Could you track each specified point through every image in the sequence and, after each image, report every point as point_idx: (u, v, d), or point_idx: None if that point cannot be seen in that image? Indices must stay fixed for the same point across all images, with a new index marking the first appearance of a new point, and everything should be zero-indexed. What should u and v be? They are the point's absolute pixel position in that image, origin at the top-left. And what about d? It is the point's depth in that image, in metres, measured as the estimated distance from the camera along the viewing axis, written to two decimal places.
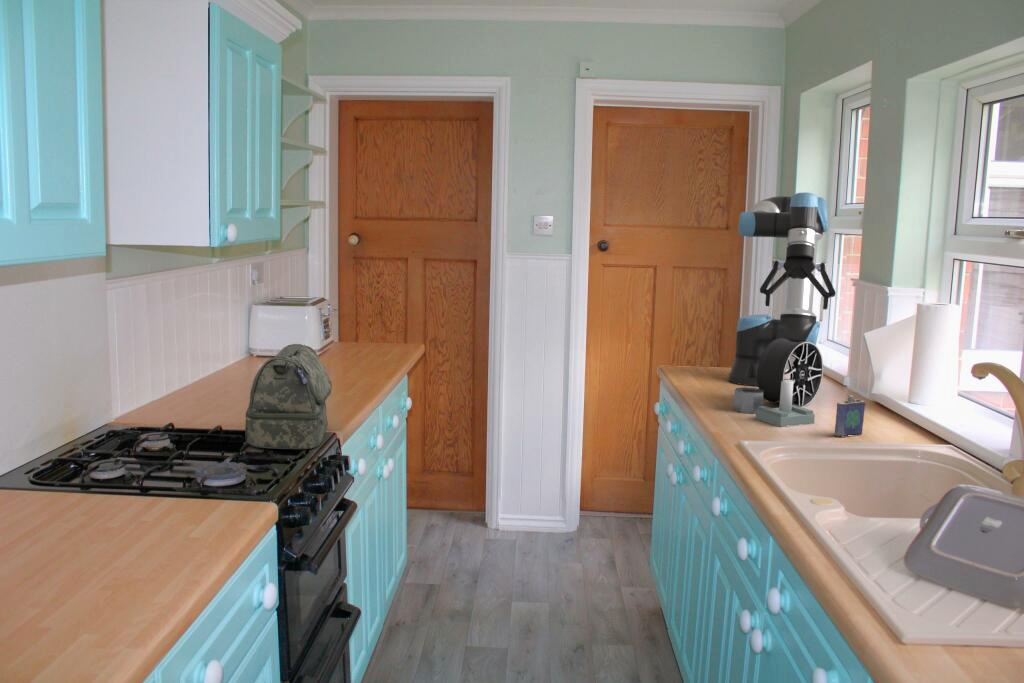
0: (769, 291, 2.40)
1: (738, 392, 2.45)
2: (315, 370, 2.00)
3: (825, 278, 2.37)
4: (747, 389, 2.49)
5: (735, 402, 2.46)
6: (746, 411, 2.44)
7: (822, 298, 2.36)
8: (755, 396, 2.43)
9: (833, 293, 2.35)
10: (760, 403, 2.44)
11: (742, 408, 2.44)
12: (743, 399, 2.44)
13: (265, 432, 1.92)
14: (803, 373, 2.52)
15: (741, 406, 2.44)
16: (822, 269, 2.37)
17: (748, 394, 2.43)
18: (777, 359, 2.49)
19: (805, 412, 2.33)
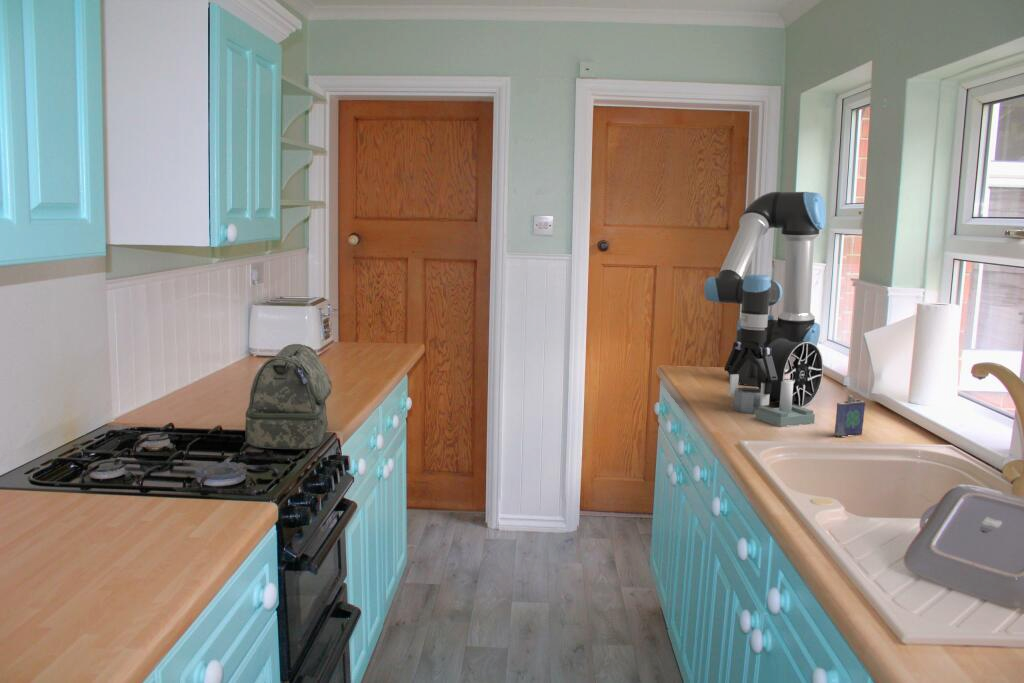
0: (729, 371, 2.52)
1: (738, 392, 2.45)
2: (315, 370, 2.00)
3: (765, 364, 2.38)
4: (747, 389, 2.49)
5: (735, 402, 2.46)
6: (746, 411, 2.44)
7: (762, 384, 2.39)
8: (755, 396, 2.43)
9: (769, 380, 2.37)
10: None
11: (742, 408, 2.44)
12: (743, 399, 2.44)
13: (265, 432, 1.92)
14: (803, 373, 2.52)
15: (741, 406, 2.44)
16: (763, 355, 2.39)
17: (748, 394, 2.43)
18: (777, 359, 2.49)
19: (805, 412, 2.33)
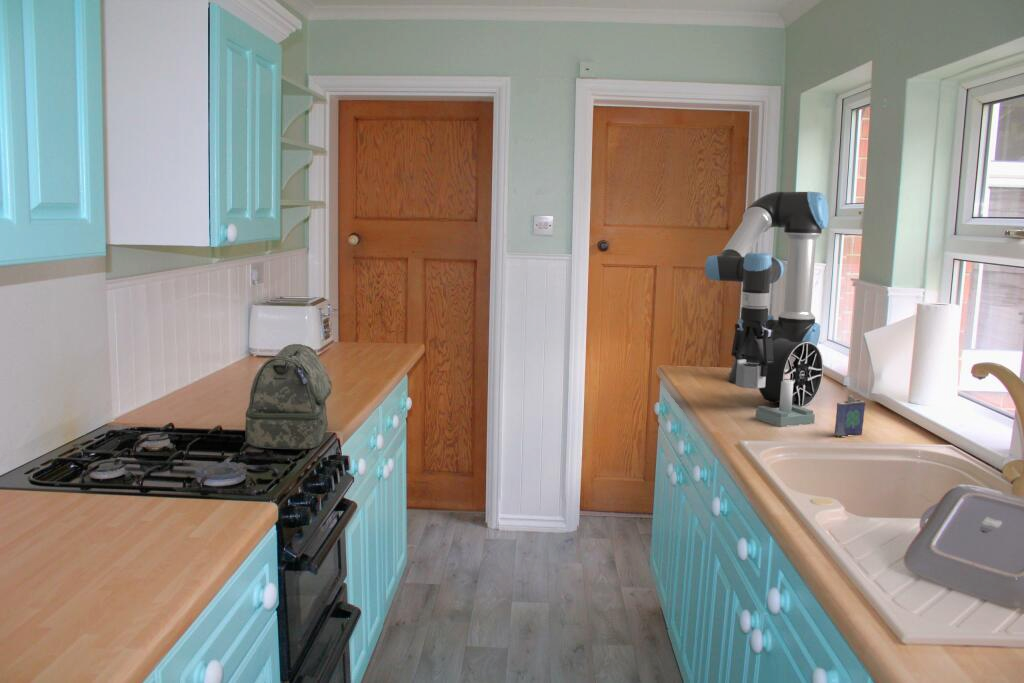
0: (737, 356, 2.50)
1: (740, 367, 2.44)
2: (315, 370, 2.00)
3: (763, 346, 2.39)
4: (749, 364, 2.49)
5: (737, 377, 2.46)
6: (748, 386, 2.43)
7: (758, 367, 2.42)
8: None
9: (765, 363, 2.39)
10: None
11: (744, 383, 2.44)
12: (745, 374, 2.43)
13: (265, 432, 1.92)
14: (803, 373, 2.52)
15: (743, 381, 2.44)
16: (764, 336, 2.39)
17: (750, 369, 2.42)
18: (777, 359, 2.49)
19: (805, 412, 2.33)
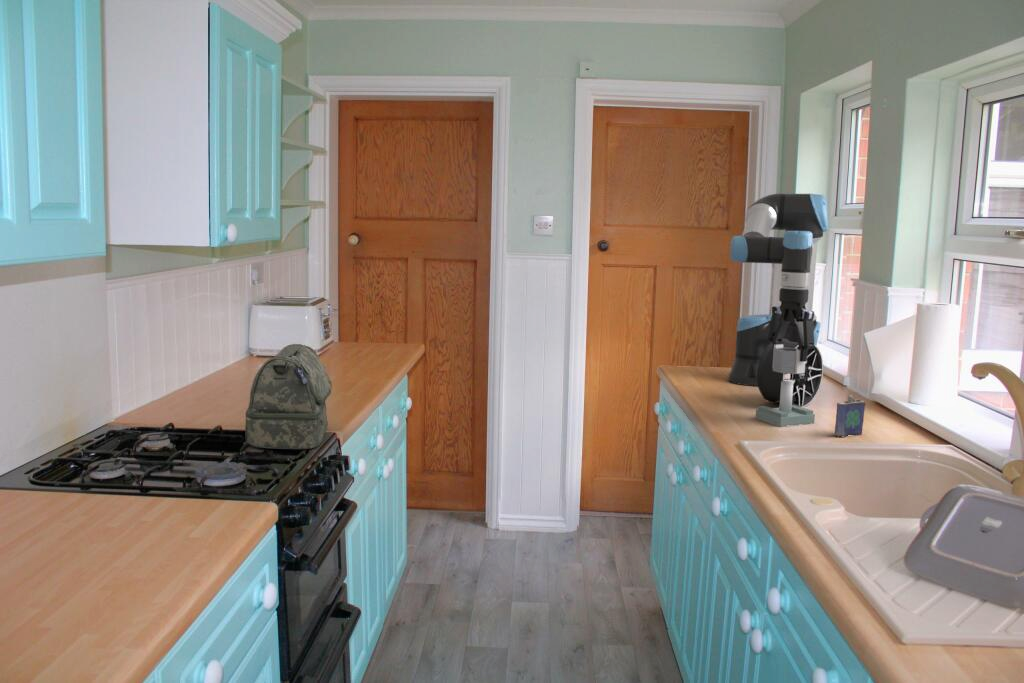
0: (773, 341, 2.36)
1: (778, 351, 2.31)
2: (315, 370, 2.00)
3: (804, 328, 2.26)
4: (787, 349, 2.35)
5: (775, 362, 2.32)
6: (787, 371, 2.30)
7: (797, 351, 2.28)
8: None
9: (805, 347, 2.25)
10: None
11: (782, 368, 2.30)
12: (783, 358, 2.30)
13: (265, 432, 1.92)
14: (803, 373, 2.52)
15: (781, 366, 2.30)
16: (804, 318, 2.26)
17: (789, 353, 2.29)
18: None
19: (805, 412, 2.33)
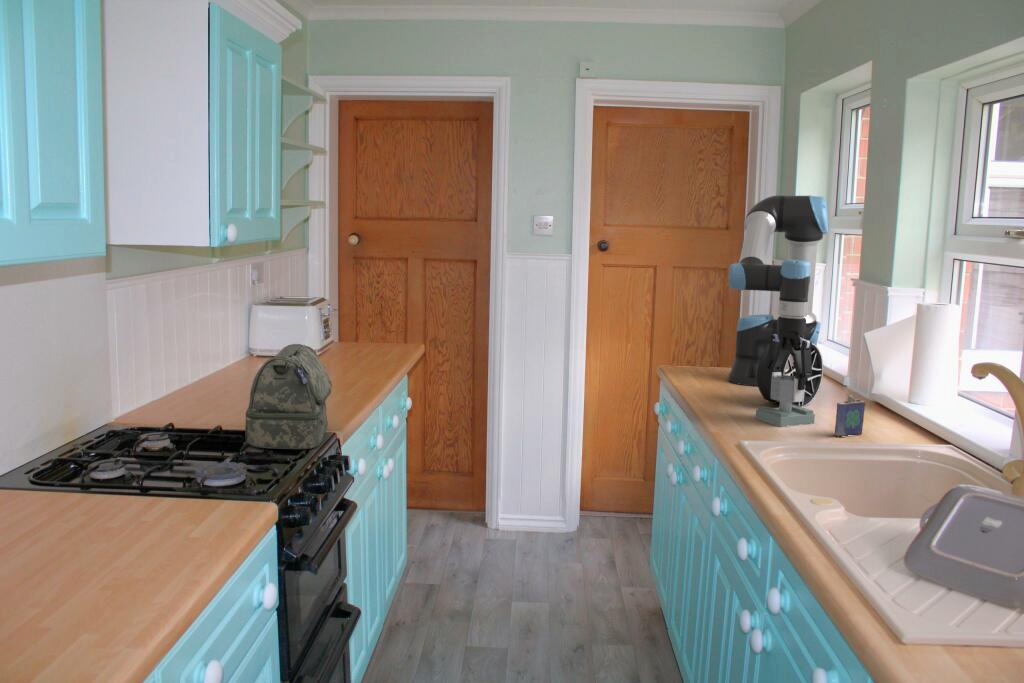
0: (771, 369, 2.37)
1: (776, 379, 2.32)
2: (315, 370, 2.00)
3: (802, 358, 2.27)
4: (785, 377, 2.36)
5: (773, 390, 2.33)
6: (785, 399, 2.31)
7: (795, 380, 2.29)
8: None
9: (803, 376, 2.27)
10: None
11: (780, 396, 2.31)
12: (781, 387, 2.31)
13: (265, 432, 1.92)
14: None
15: (779, 394, 2.31)
16: (802, 347, 2.27)
17: (787, 381, 2.30)
18: None
19: (805, 412, 2.33)
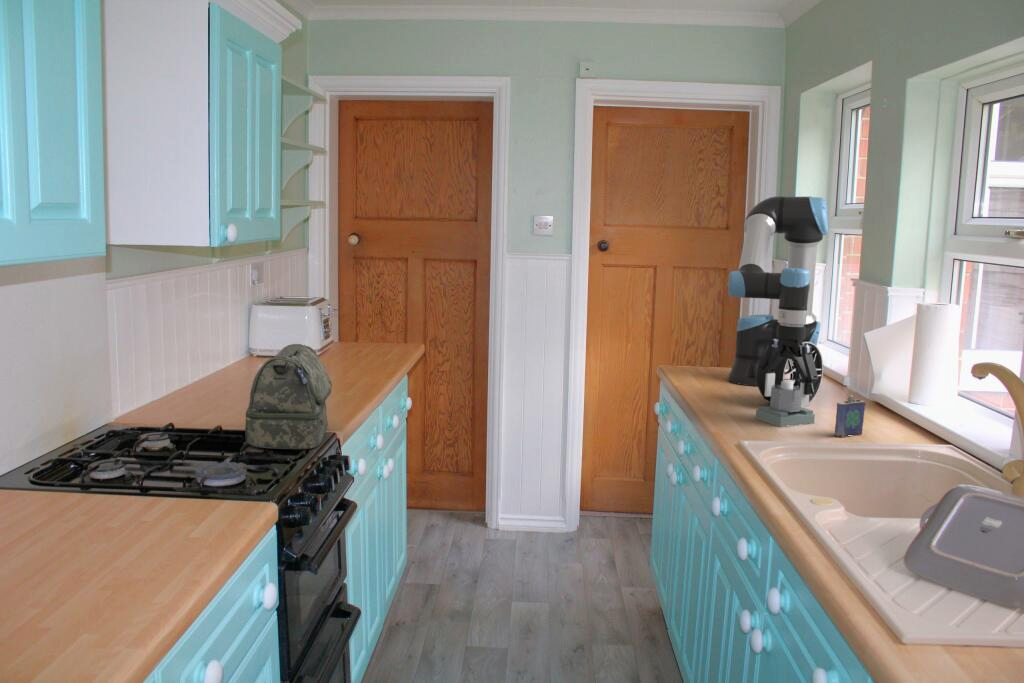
0: (765, 370, 2.40)
1: (775, 389, 2.32)
2: (315, 370, 2.00)
3: (804, 363, 2.26)
4: None
5: (772, 400, 2.34)
6: (784, 409, 2.31)
7: (801, 384, 2.27)
8: (794, 393, 2.30)
9: (810, 380, 2.25)
10: None
11: (780, 406, 2.32)
12: (781, 397, 2.31)
13: (265, 432, 1.92)
14: None
15: (779, 404, 2.32)
16: (803, 353, 2.26)
17: (786, 391, 2.30)
18: None
19: (805, 412, 2.33)
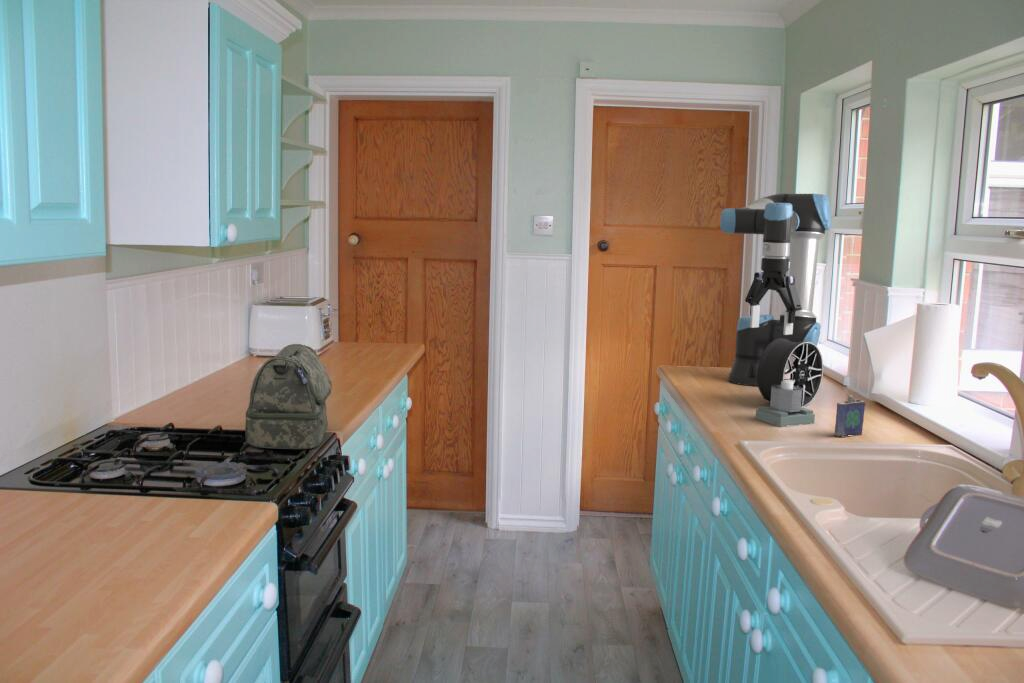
0: (751, 303, 2.50)
1: (775, 389, 2.32)
2: (315, 370, 2.00)
3: (788, 293, 2.36)
4: None
5: (772, 400, 2.34)
6: (784, 409, 2.31)
7: (785, 313, 2.38)
8: (794, 393, 2.30)
9: (793, 309, 2.35)
10: (799, 401, 2.31)
11: (780, 406, 2.32)
12: (781, 397, 2.31)
13: (265, 432, 1.92)
14: (803, 373, 2.52)
15: (779, 404, 2.32)
16: (786, 283, 2.37)
17: (786, 391, 2.30)
18: (777, 359, 2.49)
19: (805, 412, 2.33)
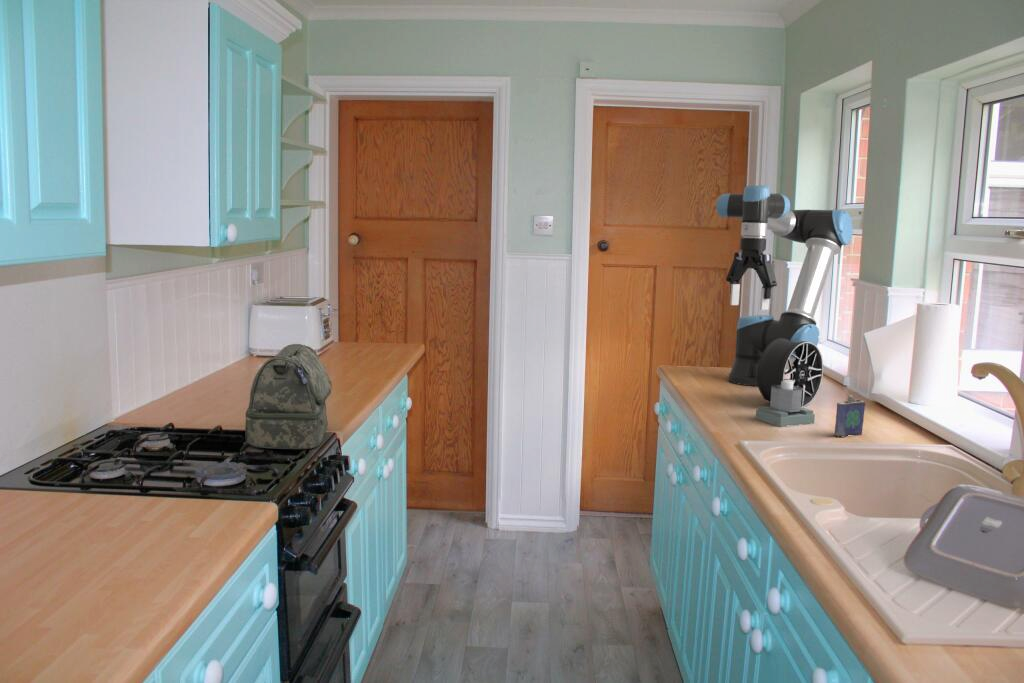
0: (731, 281, 2.64)
1: (775, 389, 2.32)
2: (315, 370, 2.00)
3: (764, 270, 2.50)
4: None
5: (772, 400, 2.34)
6: (784, 409, 2.31)
7: (762, 289, 2.51)
8: (794, 393, 2.30)
9: (769, 285, 2.49)
10: (799, 401, 2.31)
11: (780, 406, 2.32)
12: (781, 397, 2.31)
13: (265, 432, 1.92)
14: (803, 373, 2.52)
15: (779, 404, 2.32)
16: (763, 261, 2.51)
17: (786, 391, 2.30)
18: (777, 359, 2.49)
19: (805, 412, 2.33)
